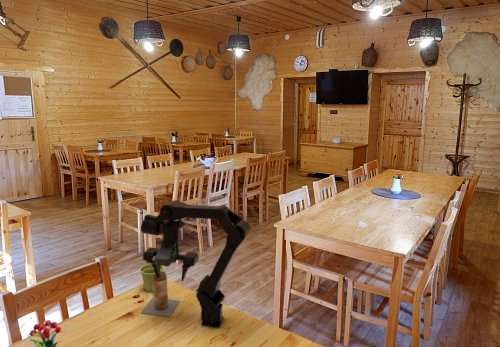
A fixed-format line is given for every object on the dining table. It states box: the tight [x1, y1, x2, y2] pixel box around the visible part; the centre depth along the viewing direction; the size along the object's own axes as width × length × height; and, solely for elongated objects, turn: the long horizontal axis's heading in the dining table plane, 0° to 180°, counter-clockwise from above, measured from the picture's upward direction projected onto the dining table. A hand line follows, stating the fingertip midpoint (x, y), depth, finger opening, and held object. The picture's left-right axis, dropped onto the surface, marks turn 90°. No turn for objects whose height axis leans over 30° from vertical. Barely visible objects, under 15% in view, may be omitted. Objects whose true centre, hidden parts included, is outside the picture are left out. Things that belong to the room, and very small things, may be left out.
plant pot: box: [139, 263, 165, 292], centre depth 155 cm, size 9×9×9 cm
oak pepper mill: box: [152, 271, 169, 310], centre depth 141 cm, size 5×5×13 cm
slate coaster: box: [140, 297, 181, 318], centre depth 142 cm, size 11×11×1 cm
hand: (170, 279), depth 136 cm, fingers open, 9 cm apart
